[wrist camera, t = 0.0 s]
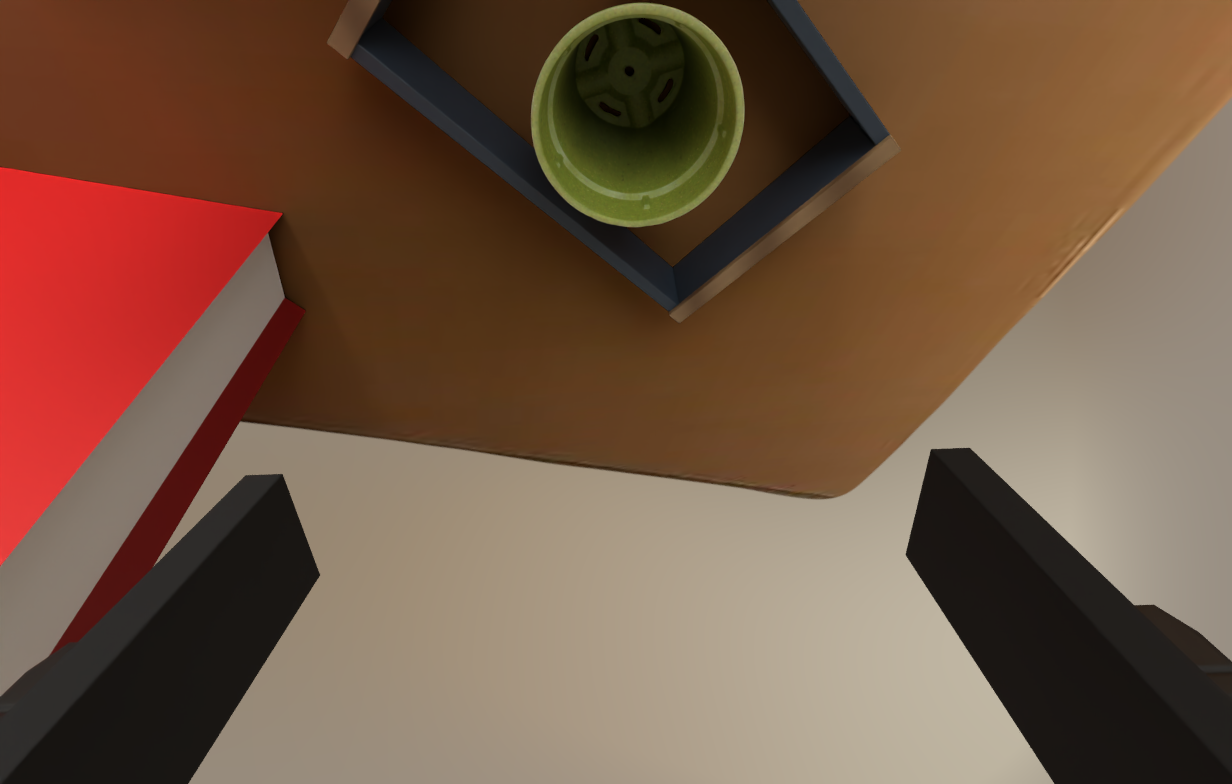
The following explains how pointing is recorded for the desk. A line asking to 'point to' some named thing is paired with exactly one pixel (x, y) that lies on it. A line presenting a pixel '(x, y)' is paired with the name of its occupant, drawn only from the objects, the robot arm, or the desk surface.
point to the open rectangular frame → (676, 289)
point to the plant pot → (637, 115)
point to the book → (116, 386)
